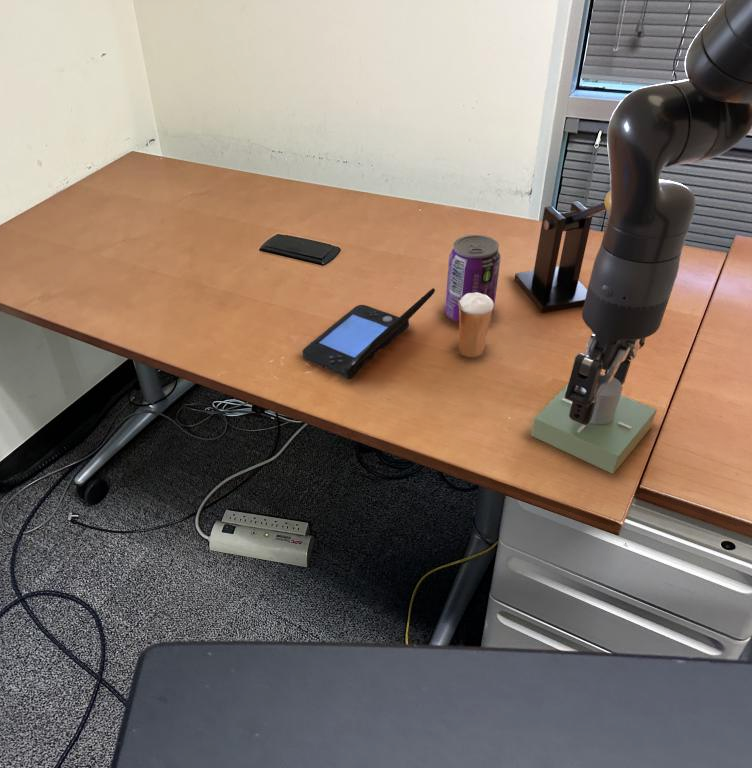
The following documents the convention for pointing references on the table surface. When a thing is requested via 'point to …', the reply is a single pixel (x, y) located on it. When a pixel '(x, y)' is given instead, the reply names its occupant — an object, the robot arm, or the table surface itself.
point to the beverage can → (471, 271)
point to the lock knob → (607, 403)
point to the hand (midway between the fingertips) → (596, 401)
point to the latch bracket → (548, 281)
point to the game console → (358, 338)
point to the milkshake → (474, 323)
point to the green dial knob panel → (594, 431)
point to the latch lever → (585, 214)
